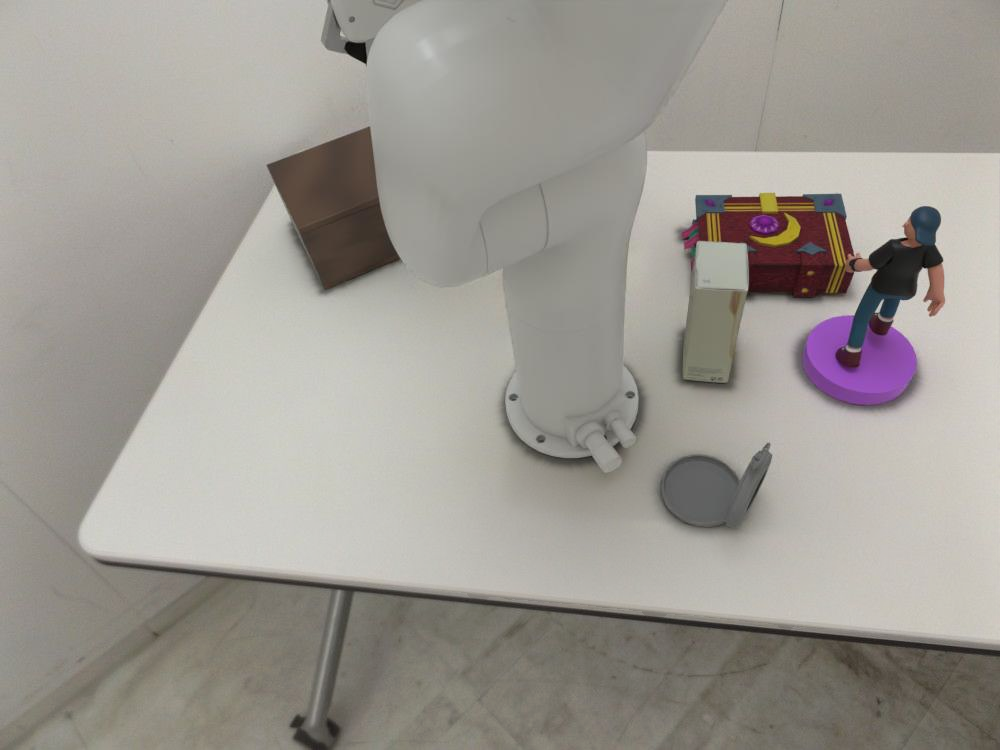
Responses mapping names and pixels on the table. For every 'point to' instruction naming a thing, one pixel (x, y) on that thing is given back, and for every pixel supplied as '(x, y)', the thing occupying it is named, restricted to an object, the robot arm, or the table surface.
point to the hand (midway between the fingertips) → (405, 88)
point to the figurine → (878, 319)
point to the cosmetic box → (715, 310)
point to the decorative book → (780, 239)
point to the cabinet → (336, 207)
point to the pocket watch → (713, 489)
